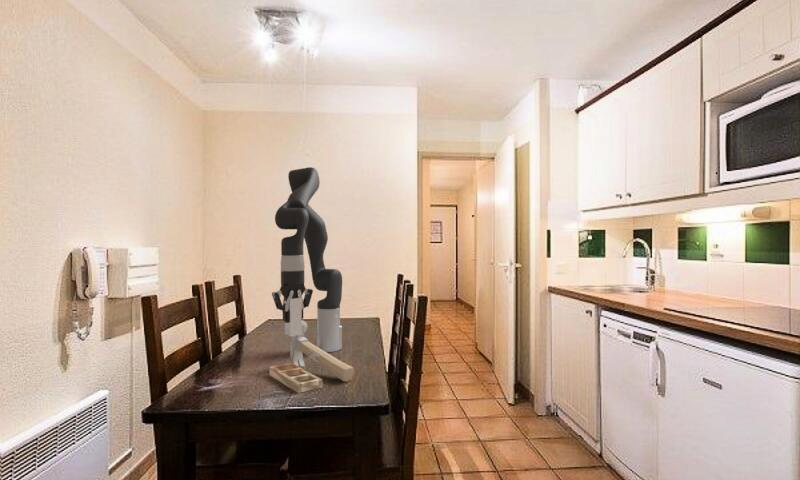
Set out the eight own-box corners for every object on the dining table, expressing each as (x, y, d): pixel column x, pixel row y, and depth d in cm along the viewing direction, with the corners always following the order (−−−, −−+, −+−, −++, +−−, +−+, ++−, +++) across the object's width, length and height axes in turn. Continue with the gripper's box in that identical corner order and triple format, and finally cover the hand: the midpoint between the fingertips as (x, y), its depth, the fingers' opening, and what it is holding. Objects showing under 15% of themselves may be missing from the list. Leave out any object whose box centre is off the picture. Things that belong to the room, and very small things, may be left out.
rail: (292, 371, 155) (292, 363, 155) (322, 387, 138) (322, 378, 138) (269, 375, 150) (269, 366, 150) (298, 393, 133) (298, 383, 133)
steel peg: (296, 332, 150) (295, 296, 150) (301, 334, 147) (301, 297, 147) (284, 334, 148) (284, 297, 147) (290, 336, 145) (290, 299, 144)
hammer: (358, 351, 144) (302, 319, 164) (347, 353, 141) (291, 320, 160) (350, 396, 146) (296, 359, 166) (339, 400, 143) (285, 362, 162)
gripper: (306, 267, 154) (307, 317, 155) (267, 269, 145) (267, 322, 146) (317, 268, 149) (318, 320, 149) (276, 271, 140) (277, 326, 140)
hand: (293, 321), depth 147 cm, fingers closed on steel peg, 4 cm apart
